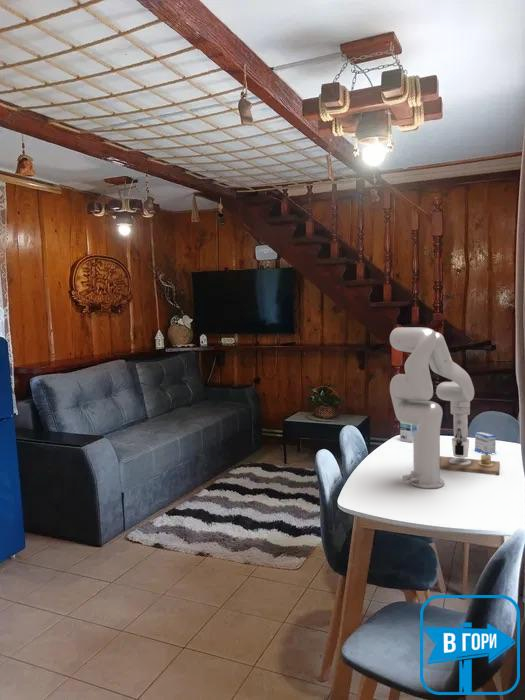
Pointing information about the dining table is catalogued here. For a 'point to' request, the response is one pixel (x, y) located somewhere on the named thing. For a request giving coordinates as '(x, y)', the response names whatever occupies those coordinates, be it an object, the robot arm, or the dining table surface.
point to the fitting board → (470, 465)
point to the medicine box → (485, 442)
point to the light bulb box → (407, 431)
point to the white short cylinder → (466, 446)
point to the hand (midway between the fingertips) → (460, 452)
